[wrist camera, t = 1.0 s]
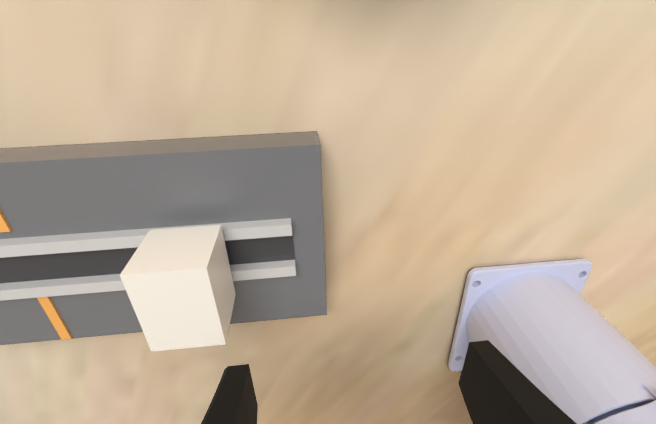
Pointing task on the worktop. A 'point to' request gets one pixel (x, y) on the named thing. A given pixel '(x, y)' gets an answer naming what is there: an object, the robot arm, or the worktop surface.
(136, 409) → the worktop surface
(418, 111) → the worktop surface
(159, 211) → the fader console
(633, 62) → the worktop surface
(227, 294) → the fader tab
